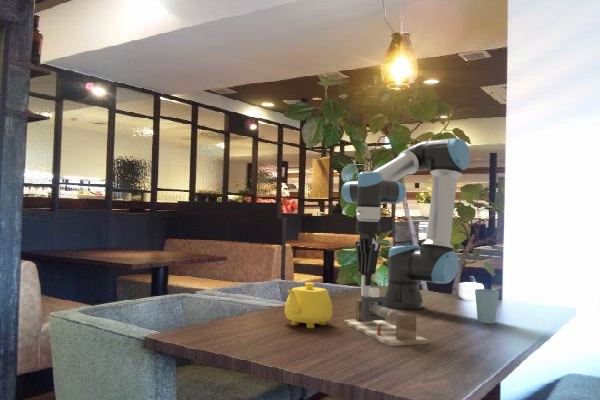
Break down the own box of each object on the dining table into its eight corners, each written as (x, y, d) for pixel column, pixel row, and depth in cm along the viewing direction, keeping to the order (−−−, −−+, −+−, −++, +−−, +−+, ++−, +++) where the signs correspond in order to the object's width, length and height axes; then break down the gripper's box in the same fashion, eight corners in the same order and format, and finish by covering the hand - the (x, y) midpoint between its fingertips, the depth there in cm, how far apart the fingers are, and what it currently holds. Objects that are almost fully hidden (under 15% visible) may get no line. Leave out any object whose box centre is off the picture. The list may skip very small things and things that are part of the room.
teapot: (341, 323, 165) (343, 283, 165) (304, 334, 149) (305, 289, 149) (306, 317, 173) (307, 278, 173) (267, 326, 157) (269, 283, 157)
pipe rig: (344, 323, 165) (344, 299, 165) (377, 321, 169) (378, 298, 170) (389, 346, 138) (390, 317, 138) (428, 343, 142) (429, 315, 142)
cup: (503, 323, 173) (504, 291, 173) (486, 324, 170) (486, 292, 170) (487, 319, 180) (487, 288, 180) (469, 320, 177) (470, 289, 177)
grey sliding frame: (361, 319, 160) (362, 288, 160) (381, 318, 162) (382, 287, 162) (364, 320, 158) (365, 289, 158) (385, 320, 160) (386, 288, 160)
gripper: (348, 219, 170) (346, 292, 170) (366, 220, 158) (364, 299, 157) (369, 220, 173) (367, 292, 172) (388, 221, 161) (386, 298, 160)
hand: (365, 295), depth 165 cm, fingers closed
